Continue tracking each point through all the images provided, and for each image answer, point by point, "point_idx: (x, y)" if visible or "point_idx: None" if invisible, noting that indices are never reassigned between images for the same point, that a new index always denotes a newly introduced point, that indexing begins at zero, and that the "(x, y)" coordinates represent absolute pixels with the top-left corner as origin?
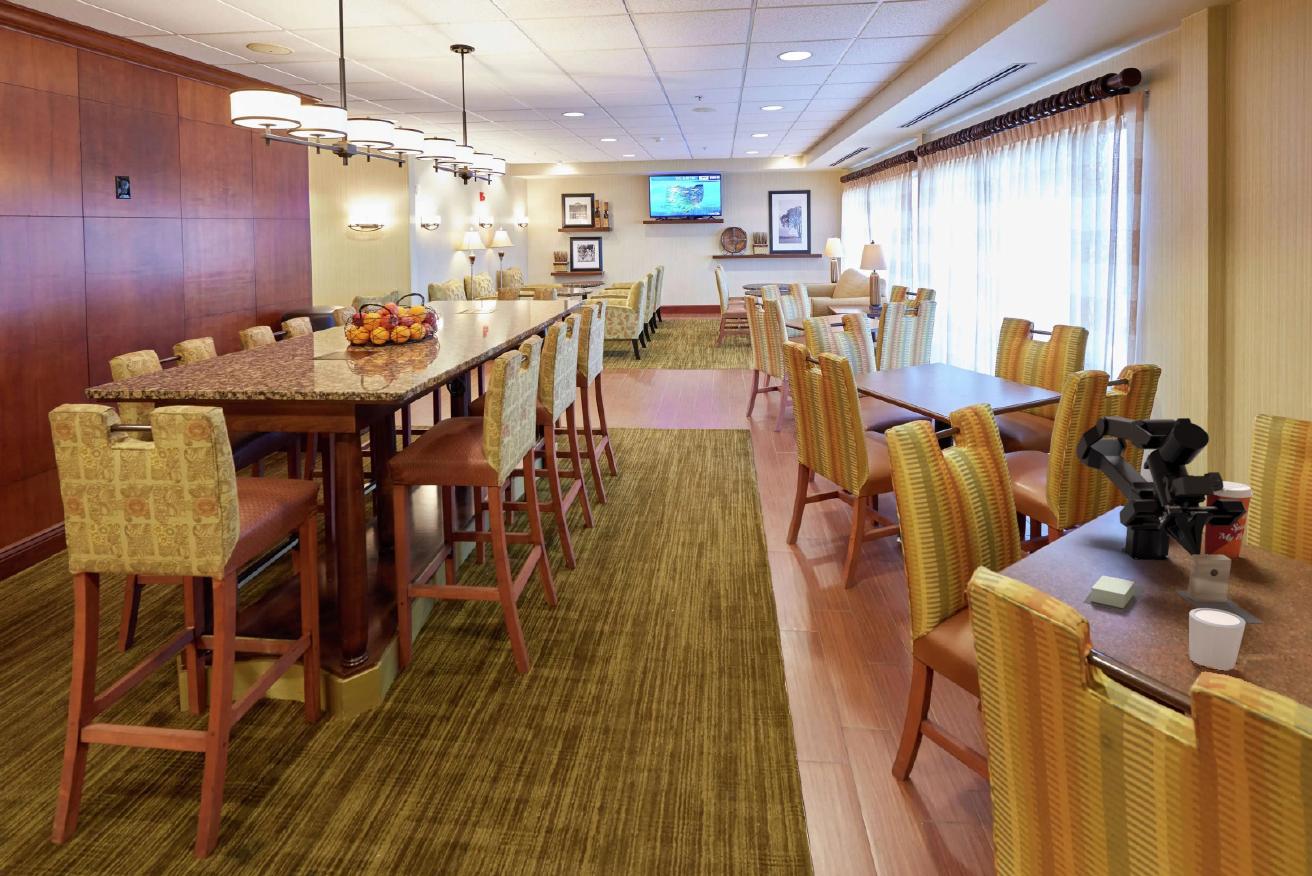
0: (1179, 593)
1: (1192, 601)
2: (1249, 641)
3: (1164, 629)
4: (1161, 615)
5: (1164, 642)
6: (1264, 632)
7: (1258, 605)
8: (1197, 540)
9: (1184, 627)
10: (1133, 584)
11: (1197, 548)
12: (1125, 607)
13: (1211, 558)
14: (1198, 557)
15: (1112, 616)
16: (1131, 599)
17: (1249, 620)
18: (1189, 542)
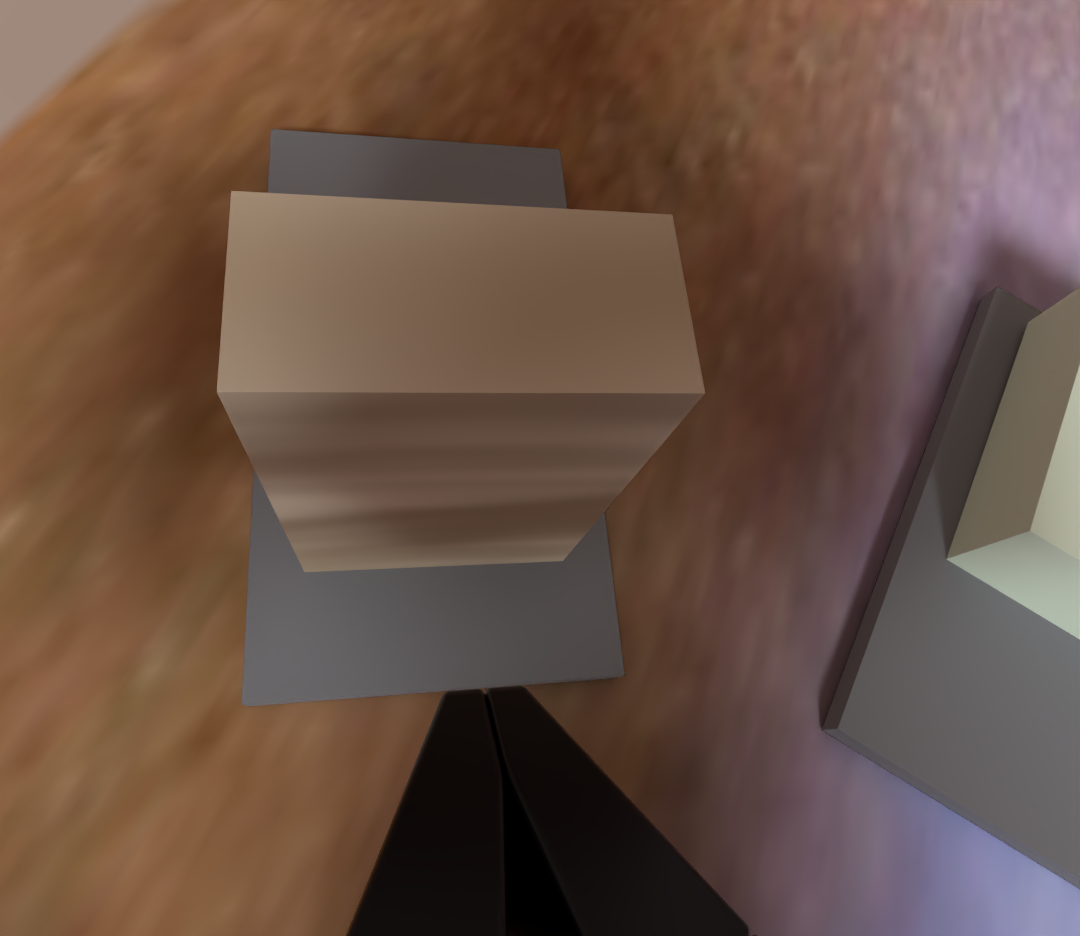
0: (608, 608)
1: None
2: (466, 13)
3: (833, 148)
4: (808, 303)
5: (863, 39)
6: (314, 88)
7: (27, 475)
8: (467, 880)
9: (729, 163)
10: (1027, 505)
11: (483, 753)
12: (1010, 348)
13: (498, 248)
14: (659, 287)
15: (1057, 293)
16: (965, 473)
17: (336, 162)
18: (643, 823)
